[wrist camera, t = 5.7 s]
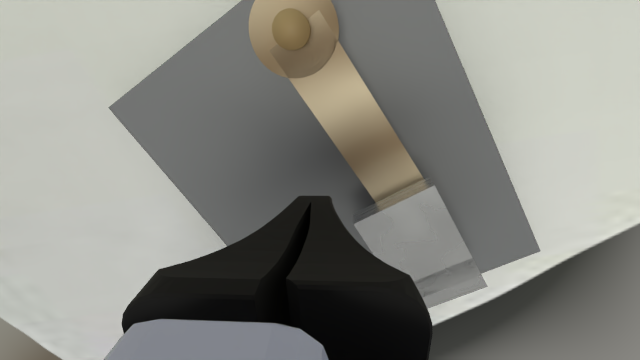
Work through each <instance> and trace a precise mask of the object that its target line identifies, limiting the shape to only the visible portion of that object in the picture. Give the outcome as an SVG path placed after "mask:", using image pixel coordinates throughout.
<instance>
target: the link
mask: <svg viewBox="0 0 640 360" xmlns="http://www.w3.org/2000/svg"><path fill="white" fill-rule="evenodd" d="M249 36H250V41H251V44H252V47H253V49H254V51H255V53H256V55H257V57H258V58H259V60H260V61H261V62H262V63H263V64H264V65H265V66H266V67H267V68H268V69H269V70H271V71H272V72H274V73H275V74H277V75H280V76H282V77H286V78H289V80H290V81H291V83H292V84H293V85H294V87H295V88H296V90H297V91H298V93H299V94H300V95H301V97H302V98H303V100H304V101H305V103H306V104H307V105H308V107H309V108H310V110H311V111H312V112H313V114H314V115H315V117H316V118H317V120H318V121H319V122H320V124H321V125H322V127H323V128H324V130H325V131H326V132H327V134H328V135H329V137H330V138H331V140H332V141H333V142H334V144H335V145H336V147H337V148H338V150H339V151H340V152H341V154H342V155H343V157H344V158H345V159H346V161H347V162H348V164H349V165H350V167H351V168H352V169H353V171H354V172H355V174H356V175H357V177H358V178H359V179H360V181H361V182H362V184H363V185H364V187H365V188H366V189H367V191H368V192H369V194H370V195H371V197H372V198H373V199H374V201H375V202H378V201H380V200H382V199H384V198H386V197H388V196H390V195H392V194H394V193H396V192H399V191H401V190H403V189H405V188H407V187H409V186H411V185H413V184H415V183H417V182H419V181H421V180H423V179H424V178H423V177H422V175H421V173H420V172H419V170H418V169H417V167H416V165H415V164H414V162H413V161H412V159H411V157H410V156H409V154H408V153H407V151H406V149H405V148H404V146H403V144H402V143H401V141H400V140H399V138H398V136H397V135H396V133H395V132H394V130H393V128H392V127H391V125H390V124H389V122H388V120H387V119H386V117H385V115H384V114H383V112H382V111H381V109H380V107H379V106H378V104H377V103H376V101H375V99H374V98H373V96H372V94H371V93H370V91H369V90H368V88H367V86H366V85H365V83H364V82H363V80H362V78H361V77H360V75H359V74H358V72H357V70H356V69H355V67H354V65H353V64H352V62H351V61H350V59H349V57H348V56H347V54H346V53H345V51H344V49H343V48H342V46H341V45H340V43H339V41H338V39H339V23H338V18H337V14H336V11H335V8H334V6H333V4H332V2H331V0H255V1H254V3H253V6H252V8H251V12H250V16H249Z"/></svg>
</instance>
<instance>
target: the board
mask: <svg viewBox="0 0 640 360" xmlns="http://www.w3.org/2000/svg"><path fill="white" fill-rule="evenodd" d="M254 1H255V0H242V1H241V2H239V3H238V4H237V5H236V6H234V7H233V8H232V9H231V10H229V11H228V12H227V13H226V14H224V15H223V16H222V17H221V18H219V19H218V20H217V21H216V22H215V23H213V24H212V25H211V26H210V27H208V28H207V29H206V30H205V31H203V32H202V33H201V34H200V35H198V36H197V37H196V38H195V39H193V40H192V41H191V42H190V43H188V44H187V45H186V46H185V47H183V48H182V49H181V50H180V51H178V52H177V53H176V54H175V55H173V56H172V57H171V58H170V59H168V60H167V61H166V62H165V63H163V64H162V65H161V66H160V67H158V68H157V69H156V70H155V71H153V72H152V73H151V74H150V75H149V76H147V77H146V78H145V79H144V80H142V81H141V82H140V83H139V84H137V85H136V86H135V87H134V88H132V89H131V90H130V91H129V92H127V93H126V94H125V95H124V96H122V97H121V98H120V99H119V100H117V101H116V102H115V103H114V104H112V105H111V106H110V107H109V109H110V110H111V111H112V113H113V114H114V115H115V116H116V117H117V118H118V119H119V121H120V122H121V123H122V124H123V125H124V126H125V128H126V129H127V130H128V131H129V132H130V133H131V135H132V136H133V137H134V138H135V139H136V140H137V142H138V143H139V144H140V145H141V146H142V147H143V149H144V150H145V151H146V152H147V153H148V154H149V156H150V157H151V158H152V159H153V160H154V161H155V163H156V164H157V165H158V166H159V167H160V168H161V169H162V171H163V172H164V173H165V174H166V175H167V176H168V178H169V179H170V180H171V181H172V182H173V183H174V185H175V186H176V187H177V188H178V189H179V190H180V192H181V193H182V194H183V195H184V196H185V197H186V199H187V200H188V201H189V202H190V203H191V204H192V206H193V207H194V208H195V209H196V210H197V211H198V213H199V214H200V215H201V216H202V217H203V218H204V219H205V221H206V222H207V223H208V224H209V225H210V226H211V228H212V229H213V230H214V231H215V232H216V233H217V235H218V236H219V237H220V238H221V239H222V240H223V242H224V243H225V244H226V245H227V246H229V245H231V244H233V243H235V242H238V241H240V240H242V239H243V238H245V237H247V236H249V235H250V234H252V233H254V232H255V231H257V230H258V229H260V228H261V227H263V226H264V225H265V224H267V223H268V222H269V221H271V220H272V219H273V218H274V217H276V216H277V215H278V214H279V213H281V212H282V211H283V210H284V209H285V208H286V207H287V206H288V205H290V204H291V203H292V202H293V201H294V200H295V199H296V198H297V197H298V196H330V197H331V198H332V203H333V206H334V209H335V211H336V213H337V215H338V216H339V218H340V220H341V221H342V223H343V224H344V226H345V227H346V229H347V230H348V231H349V233H350V234H351V235H352V236H353V237H354V238H355V239H356V241H357V242H358V243H359V244H360V245H361V246H363V247H364V248H365V249H366V250H367V251H369V252H370V253H371V254H373V253H372V252H371V250H370V249H369V247H368V246H367V244H366V243H365V241H364V240H363V238H362V236H361V235H360V233H359V232H358V230H357V229H356V227H355V226H354V224H353V214H354V213H356V212H358V211H360V210H362V209H364V208H366V207H368V206H370V205H372V204H374V203H376V202H375V201H374V199H373V198H372V197H371V195H370V194H369V192H368V191H367V189H366V188H365V187H364V185H363V184H362V182H361V181H360V179H359V178H358V177H357V175H356V174H355V172H354V171H353V169H352V168H351V167H350V165H349V164H348V162H347V161H346V159H345V158H344V157H343V155H342V154H341V152H340V151H339V150H338V148H337V147H336V145H335V144H334V142H333V141H332V140H331V138H330V137H329V135H328V134H327V132H326V131H325V130H324V128H323V127H322V125H321V124H320V122H319V121H318V120H317V118H316V117H315V115H314V114H313V112H312V111H311V110H310V108H309V107H308V105H307V104H306V103H305V101H304V100H303V98H302V97H301V95H300V94H299V93H298V91H297V90H296V88H295V87H294V85H293V84H292V83H291V81H290V80H289V78H286V77H282V76H280V75H277V74H275V73H274V72H272V71H271V70H269V69H268V68H267V67H266V66H265V65H264V64H263V63H262V62H261V61H260V60H259V58H258V57H257V55H256V53H255V51H254V49H253V47H252V44H251V41H250V36H249V16H250V12H251V8H252V6H253V3H254ZM331 2H332V4H333V6H334V8H335V11H336V14H337V18H338V23H339V39H338V41H339V43H340V45H341V46H342V48H343V49H344V51H345V53H346V54H347V56H348V57H349V59H350V61H351V62H352V64H353V65H354V67H355V69H356V70H357V72H358V74H359V75H360V77H361V78H362V80H363V82H364V83H365V85H366V86H367V88H368V90H369V91H370V93H371V94H372V96H373V98H374V99H375V101H376V103H377V104H378V106H379V107H380V109H381V111H382V112H383V114H384V115H385V117H386V119H387V120H388V122H389V124H390V125H391V127H392V128H393V130H394V132H395V133H396V135H397V136H398V138H399V140H400V141H401V143H402V144H403V146H404V148H405V149H406V151H407V153H408V154H409V156H410V157H411V159H412V161H413V162H414V164H415V165H416V167H417V169H418V170H419V172H420V173H421V175H422V177H423V178H424V179H425V178H427V177H429V178H430V179H431V181H432V182H433V184H434V185H435V187H436V189H437V191H438V193H439V195H440V197H441V199H442V201H443V202H444V204H445V206H446V208H447V210H448V212H449V214H450V216H451V218H452V220H453V222H454V223H455V225H456V227H457V229H458V231H459V233H460V235H461V237H462V239H463V241H464V243H465V245H466V246H467V248H468V250H469V252H470V254H471V256H472V258H473V260H474V262H475V264H476V266H477V267H478V269H479V271H480V273H484V272H486V271H489V270H492V269H494V268H497V267H500V266H502V265H505V264H508V263H510V262H513V261H515V260H518V259H521V258H523V257H526V256H529V255H531V254H534V253H537V252H539V251H540V249H539V247H538V244H537V242H536V239H535V237H534V235H533V232H532V230H531V227H530V225H529V223H528V220H527V218H526V216H525V213H524V211H523V208H522V206H521V204H520V201H519V199H518V197H517V194H516V192H515V189H514V187H513V185H512V182H511V180H510V178H509V175H508V173H507V170H506V168H505V166H504V163H503V161H502V159H501V156H500V154H499V151H498V149H497V147H496V144H495V142H494V140H493V137H492V135H491V132H490V130H489V128H488V125H487V123H486V121H485V118H484V116H483V113H482V111H481V109H480V106H479V104H478V102H477V99H476V97H475V94H474V92H473V90H472V87H471V85H470V83H469V80H468V78H467V75H466V73H465V71H464V68H463V66H462V64H461V61H460V59H459V56H458V54H457V52H456V49H455V47H454V45H453V42H452V40H451V37H450V35H449V33H448V30H447V28H446V26H445V23H444V21H443V18H442V16H441V14H440V11H439V9H438V7H437V4H436V2H435V0H331Z"/></svg>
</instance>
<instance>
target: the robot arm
mask: <svg viewBox="0 0 640 360" xmlns="http://www.w3.org/2000/svg"><path fill="white" fill-rule="evenodd" d="M122 327H123V332H124V335H123V336H122V337H121V338H120V339H119V340H118V342H117V343H116V344H115V346H114V347H113V348H112V349H111V351H110V352H109V353H108V355H107V356H106V357H105V359H104V360H428V358H429V351H430V345H431V339H432V322H431V318H430V315H429V312H428V309H427V307H426V305H425V302H424V300H423V298H422V296H421V294H420V292H419V290H418V289H417V287H416V285H415V283H414V281H413V280H412V278H411V276H410V275H408V274H406V273H404V272H402V271H400V270H398V269H396V268H394V267H392V266H390V265H388V264H386V263H385V262H383V261H382V260H380V259H378V258H377V257H375V256H374V255H373V254H371V253H370V252H369V251H367V250H366V249H365V248H364V247H363V246H361V245H360V244H359V243H358V242H357V241H356V239H355V238H354V237H353V236H352V235H351V234H350V233H349V231H348V230H347V229H346V227H345V226H344V224H343V223H342V221H341V220H340V218H339V216H338V215H337V213H336V211H335V209H334V206H333V203H332V198H331V197H330V196H298V197H297V198H296V199H295V200H294V201H293V202H292V203H291V204H290V205H288V206H287V207H286V208H285V209H284V210H283V211H282V212H281V213H279V214H278V215H277V216H276V217H274V218H273V219H272V220H271V221H269V222H268V223H267V224H265V225H264V226H263V227H261V228H260V229H258V230H257V231H255V232H254V233H252V234H250V235H249V236H247V237H245V238H243V239H242V240H240V241H238V242H235V243H233V244H231V245H229V246H227V247H225V248H223V249H221V250H218V251H216V252H213V253H211V254H208V255H206V256H203V257H200V258H197V259H194V260H191V261H188V262H184V263H181V264H177V265H174V266H170V267H166V268H162V269H159V270H158V271H157V272H156V273H155V274H154V275H153V277H152V278H151V279H150V280H149V281H148V283H147V284H146V285H145V286H144V287H143V288H142V290H141V291H140V292H139V293H138V294H137V296H136V297H135V298H134V299H133V300H132V301H131V303H130V304H129V305H128V307H127V308H126V310H125V312H124V313H123V318H122Z"/></svg>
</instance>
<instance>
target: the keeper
mask: <svg viewBox="0 0 640 360" xmlns="http://www.w3.org/2000/svg"><path fill="white" fill-rule="evenodd" d="M353 224H354V226H355V227H356V229H357V230H358V232H359V233H360V235H361V236H362V238H363V240H364V241H365V243H366V244H367V246H368V247H369V249H370V250H371V252H372V253H373V255H374V256H375V257H377V258H378V259H380V260H382V261H383V262H385V263H386V264H388V265H390V266H392V267H394V268H396V269H398V270H400V271H402V272H404V273H406V274H408V275H410V276H411V278H412V280H413V281H414V283H415V285H416V287H417V289H418V290H419V292H420V294H421V296H422V298H423V300H424V302H425V305H426V307H427V308H430V307H433V306H436V305H438V304H441V303H444V302H447V301H449V300H452V299H455V298H458V297H460V296H463V295H466V294H469V293H471V292H474V291H477V290H479V289H482V288H485V287H487V285H486V283H485V281H484V279H483V277H482V275H481V273H480V271H479V269H478V267H477V266H476V264H475V262H474V260H473V258H472V256H471V254H470V252H469V250H468V248H467V246H466V245H465V243H464V241H463V239H462V237H461V235H460V233H459V231H458V229H457V227H456V225H455V223H454V222H453V220H452V218H451V216H450V214H449V212H448V210H447V208H446V206H445V204H444V202H443V201H442V199H441V197H440V195H439V193H438V191H437V189H436V187H435V185H434V184H433V182H432V181H431V179H430V178H429V177H427V178H425V179H423V180H421V181H419V182H417V183H415V184H413V185H411V186H409V187H407V188H405V189H403V190H401V191H399V192H396V193H394V194H392V195H390V196H388V197H386V198H384V199H382V200H380V201H378V202H376V203H374V204H372V205H370V206H368V207H366V208H364V209H362V210H360V211H358V212H356V213H354V214H353Z"/></svg>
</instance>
